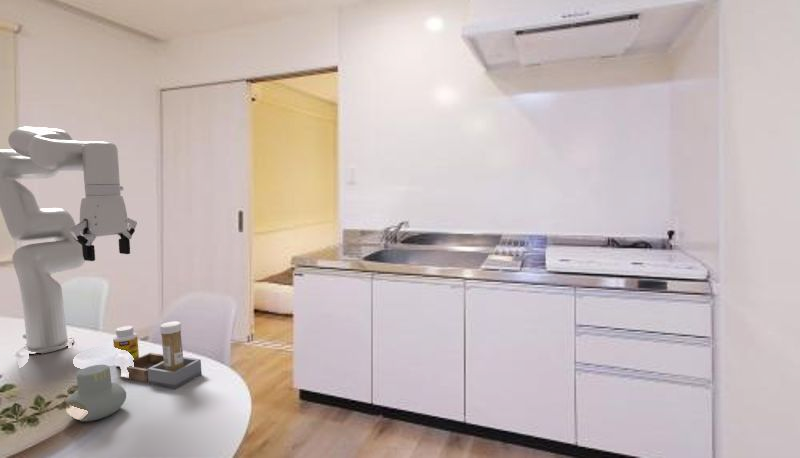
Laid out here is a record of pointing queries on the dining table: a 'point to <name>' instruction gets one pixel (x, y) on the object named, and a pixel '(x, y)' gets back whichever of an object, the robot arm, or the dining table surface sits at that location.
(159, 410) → the dining table surface
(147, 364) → the brown wooden square frame
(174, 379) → the tray
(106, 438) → the dining table surface
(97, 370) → the air freshener
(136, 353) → the supplement bottle
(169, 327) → the sprinkles bottle
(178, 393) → the dining table surface
